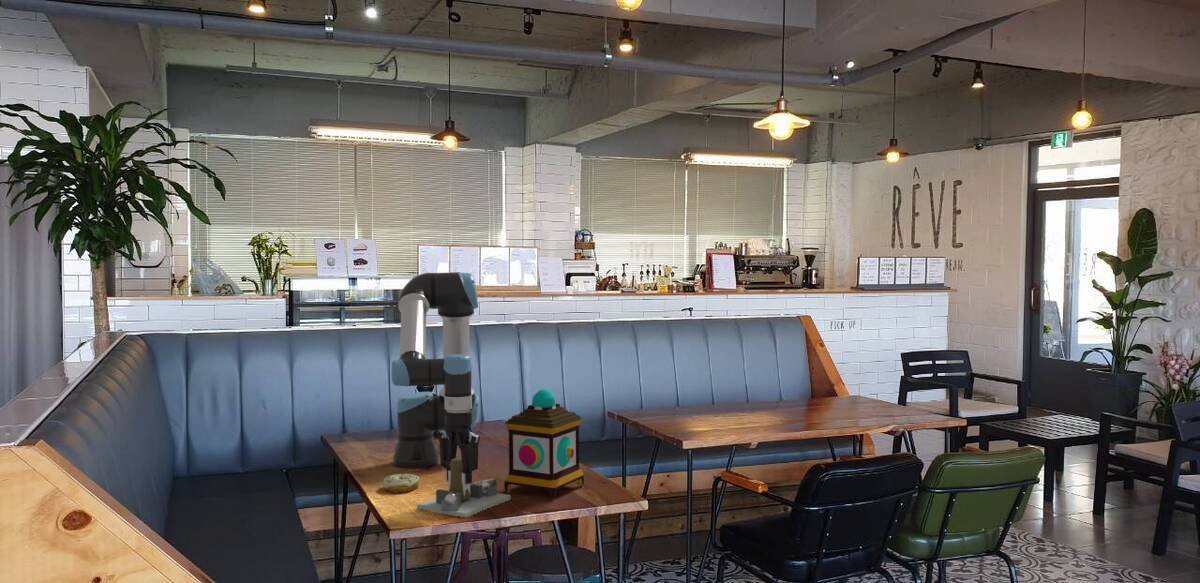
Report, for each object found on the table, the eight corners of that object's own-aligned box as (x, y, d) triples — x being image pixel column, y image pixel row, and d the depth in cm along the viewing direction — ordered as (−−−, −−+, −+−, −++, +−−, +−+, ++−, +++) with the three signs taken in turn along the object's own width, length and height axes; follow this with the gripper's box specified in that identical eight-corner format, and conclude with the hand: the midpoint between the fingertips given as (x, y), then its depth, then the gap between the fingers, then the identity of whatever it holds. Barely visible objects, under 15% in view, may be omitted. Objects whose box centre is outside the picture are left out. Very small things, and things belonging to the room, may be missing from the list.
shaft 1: (446, 505, 241) (446, 490, 241) (462, 505, 241) (462, 490, 241) (441, 510, 236) (441, 495, 236) (457, 511, 236) (457, 495, 236)
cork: (446, 496, 247) (445, 457, 247) (466, 493, 250) (465, 454, 250) (452, 501, 242) (451, 461, 242) (473, 498, 245) (472, 458, 244)
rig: (417, 508, 243) (416, 491, 242) (463, 491, 260) (463, 475, 259) (465, 517, 234) (465, 500, 234) (510, 499, 251) (510, 483, 251)
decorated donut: (379, 494, 258) (379, 481, 258) (387, 485, 269) (387, 472, 269) (416, 493, 258) (415, 480, 258) (421, 484, 269) (421, 471, 269)
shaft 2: (480, 498, 248) (480, 483, 248) (472, 495, 252) (471, 480, 251) (498, 494, 252) (498, 479, 252) (489, 491, 255) (489, 476, 255)
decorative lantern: (555, 502, 248) (554, 396, 246) (497, 493, 257) (496, 391, 256) (590, 485, 265) (589, 386, 264) (535, 477, 275) (534, 382, 274)
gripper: (425, 410, 246) (427, 493, 247) (474, 415, 238) (475, 501, 239) (443, 406, 253) (444, 486, 254) (491, 411, 244) (492, 494, 245)
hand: (459, 493), depth 246 cm, fingers closed on cork, 4 cm apart
